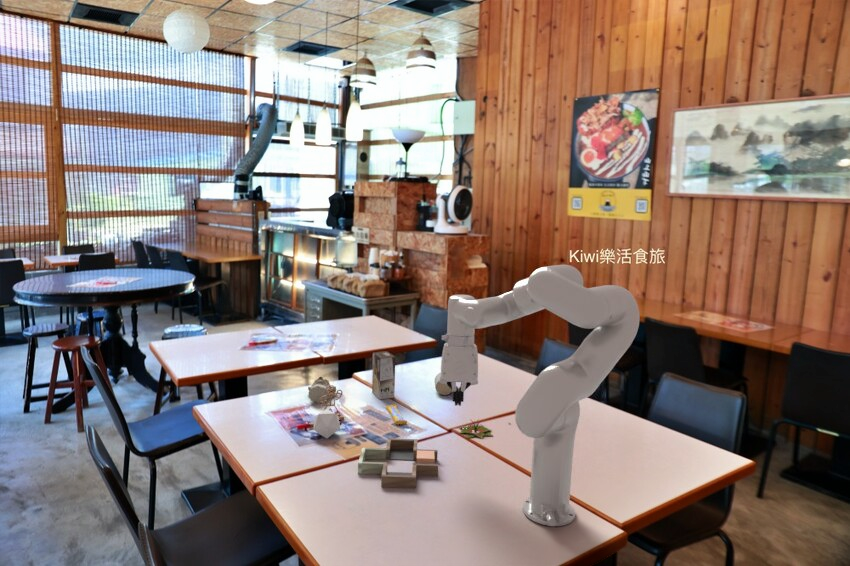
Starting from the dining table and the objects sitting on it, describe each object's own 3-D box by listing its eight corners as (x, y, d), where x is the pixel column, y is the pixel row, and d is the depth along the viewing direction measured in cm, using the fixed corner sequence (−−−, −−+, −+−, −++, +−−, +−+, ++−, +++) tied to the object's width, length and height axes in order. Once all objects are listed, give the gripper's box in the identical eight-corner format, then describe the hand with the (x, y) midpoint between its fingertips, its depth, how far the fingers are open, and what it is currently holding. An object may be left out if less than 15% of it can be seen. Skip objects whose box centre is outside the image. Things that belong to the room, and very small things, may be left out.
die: (345, 438, 182) (344, 408, 187) (330, 433, 175) (329, 403, 180) (323, 443, 185) (323, 414, 190) (307, 438, 178) (307, 408, 183)
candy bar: (408, 425, 193) (408, 420, 193) (395, 427, 192) (395, 421, 192) (396, 408, 209) (396, 403, 209) (385, 409, 208) (385, 404, 208)
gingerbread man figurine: (318, 422, 192) (318, 388, 191) (316, 418, 196) (316, 384, 194) (344, 419, 196) (344, 386, 194) (341, 415, 199) (342, 382, 197)
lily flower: (464, 442, 182) (464, 428, 181) (452, 427, 193) (453, 414, 192) (499, 439, 185) (500, 426, 184) (485, 425, 196) (486, 412, 196)
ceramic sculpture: (303, 381, 207) (310, 371, 222) (302, 404, 208) (309, 393, 223) (332, 382, 208) (337, 372, 223) (331, 405, 208) (337, 394, 223)
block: (434, 472, 161) (434, 458, 160) (416, 471, 161) (416, 458, 160) (433, 464, 166) (434, 450, 165) (416, 463, 166) (416, 450, 165)
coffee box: (395, 397, 219) (396, 356, 216) (379, 399, 216) (380, 358, 214) (386, 390, 227) (387, 350, 225) (371, 392, 224) (371, 352, 222)
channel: (438, 488, 151) (438, 478, 151) (354, 486, 151) (354, 475, 151) (436, 449, 175) (437, 439, 175) (364, 446, 175) (364, 437, 175)
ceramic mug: (434, 396, 222) (435, 377, 221) (434, 389, 230) (435, 371, 229) (461, 397, 222) (462, 378, 221) (459, 390, 230) (460, 372, 229)
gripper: (433, 342, 154) (431, 407, 157) (489, 344, 154) (485, 409, 157) (433, 335, 161) (430, 398, 164) (486, 337, 161) (483, 400, 164)
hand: (457, 403), depth 160 cm, fingers closed
